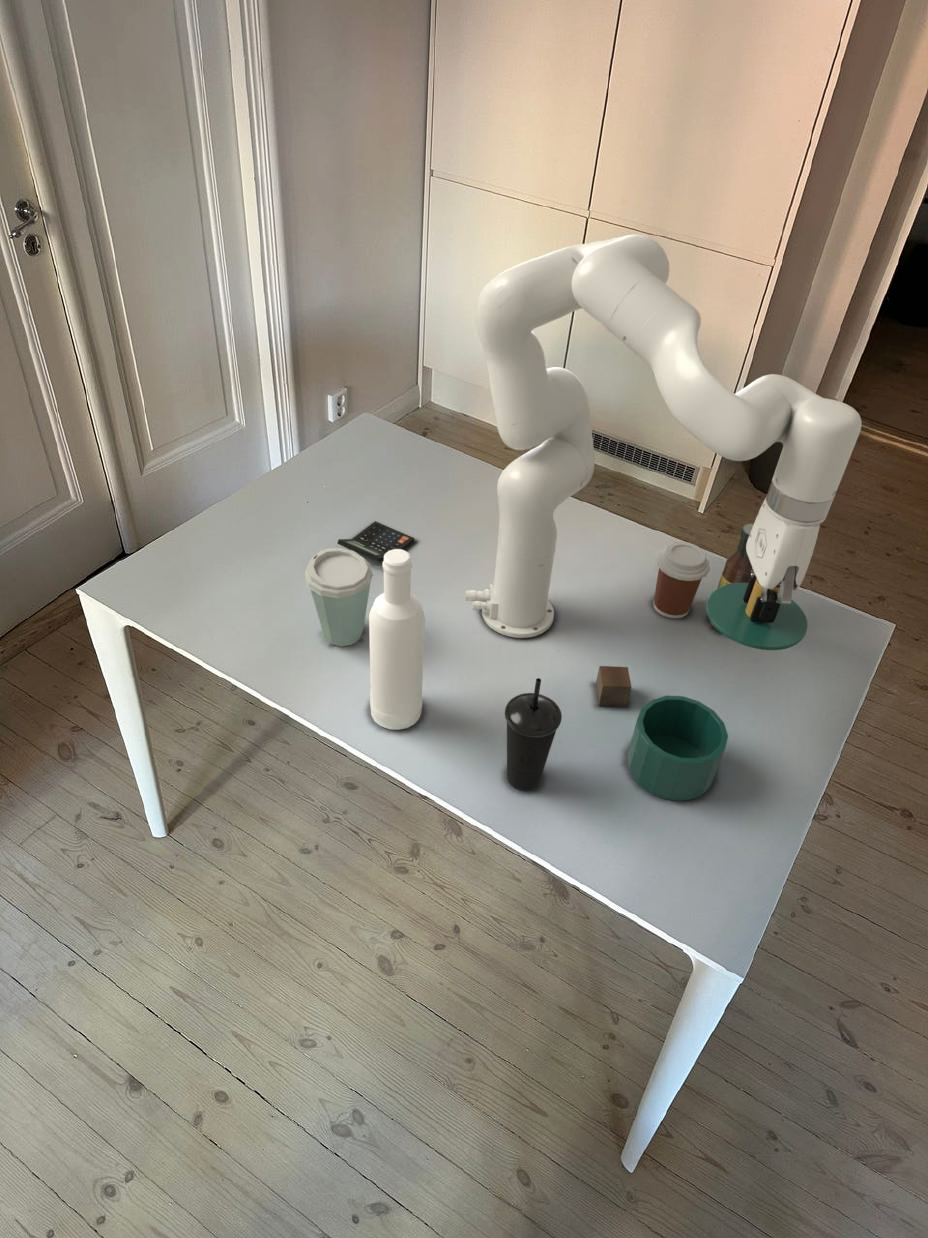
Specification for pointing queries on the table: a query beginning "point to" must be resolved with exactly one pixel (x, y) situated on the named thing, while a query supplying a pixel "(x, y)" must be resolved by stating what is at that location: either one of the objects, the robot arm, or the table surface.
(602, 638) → the table surface
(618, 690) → the block
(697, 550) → the coffee cup
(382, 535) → the calculator
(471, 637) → the table surface
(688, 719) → the tin
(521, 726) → the drinking cup
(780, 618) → the tin lid
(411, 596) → the bottle
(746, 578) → the sauce bottle
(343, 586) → the disposable coffee cup
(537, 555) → the robot arm
